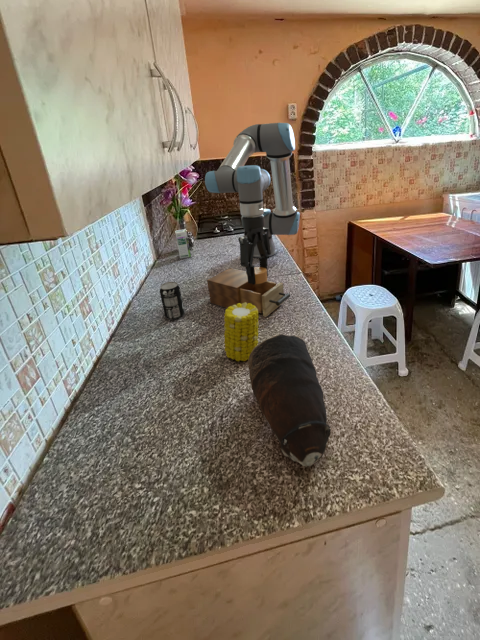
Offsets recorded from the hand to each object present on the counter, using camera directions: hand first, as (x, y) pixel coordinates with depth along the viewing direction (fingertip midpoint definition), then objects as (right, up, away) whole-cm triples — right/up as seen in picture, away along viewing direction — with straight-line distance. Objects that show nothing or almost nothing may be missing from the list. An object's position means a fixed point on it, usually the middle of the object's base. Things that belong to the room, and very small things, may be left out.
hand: (258, 279), depth 109 cm
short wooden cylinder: (0, 0, 0) cm, 0 cm away
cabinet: (-10, -9, +10) cm, 16 cm away
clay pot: (+11, -28, -42) cm, 52 cm away
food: (-2, -20, -20) cm, 28 cm away
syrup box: (-45, +8, +59) cm, 75 cm away
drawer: (+2, -10, +3) cm, 11 cm away
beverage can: (-30, -13, +1) cm, 33 cm away
